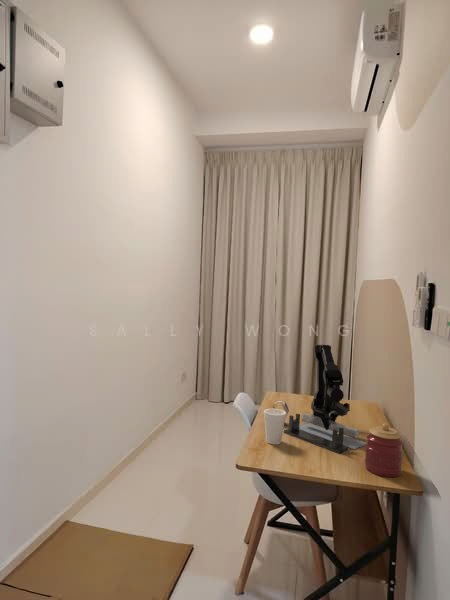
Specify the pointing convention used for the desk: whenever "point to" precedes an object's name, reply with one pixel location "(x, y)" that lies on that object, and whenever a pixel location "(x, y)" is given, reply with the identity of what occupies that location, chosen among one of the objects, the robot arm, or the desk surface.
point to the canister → (384, 451)
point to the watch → (283, 406)
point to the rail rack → (333, 445)
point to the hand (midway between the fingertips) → (328, 429)
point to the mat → (331, 435)
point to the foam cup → (274, 425)
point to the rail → (331, 425)
